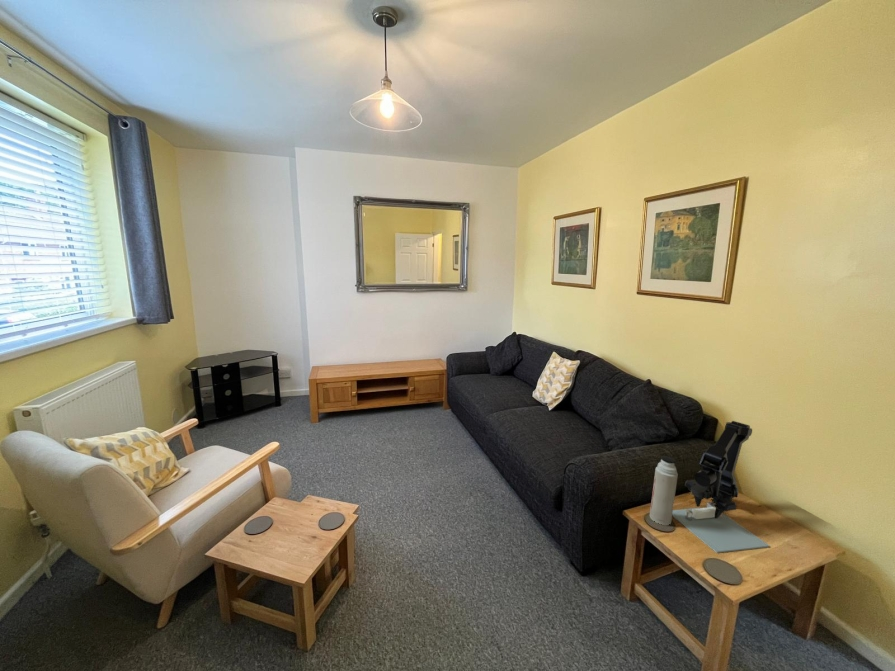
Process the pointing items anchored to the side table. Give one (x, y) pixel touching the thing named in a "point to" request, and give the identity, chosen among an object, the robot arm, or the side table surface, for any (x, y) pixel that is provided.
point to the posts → (690, 513)
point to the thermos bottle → (664, 491)
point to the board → (720, 532)
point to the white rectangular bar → (704, 513)
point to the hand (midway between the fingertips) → (706, 512)
